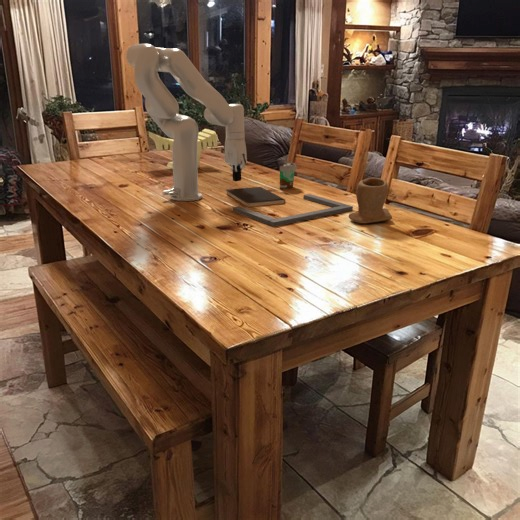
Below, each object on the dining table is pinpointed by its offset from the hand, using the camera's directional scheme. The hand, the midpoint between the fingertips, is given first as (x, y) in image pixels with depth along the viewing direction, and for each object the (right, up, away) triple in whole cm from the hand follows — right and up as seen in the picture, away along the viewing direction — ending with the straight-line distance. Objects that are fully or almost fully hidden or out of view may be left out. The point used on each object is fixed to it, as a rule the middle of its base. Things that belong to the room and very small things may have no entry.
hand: (237, 180), depth 232 cm
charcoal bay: (+22, -15, -27) cm, 38 cm away
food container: (+22, -2, +10) cm, 24 cm away
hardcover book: (+7, -9, -9) cm, 15 cm away
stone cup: (+48, -20, -39) cm, 65 cm away
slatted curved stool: (-29, +14, +50) cm, 60 cm away
